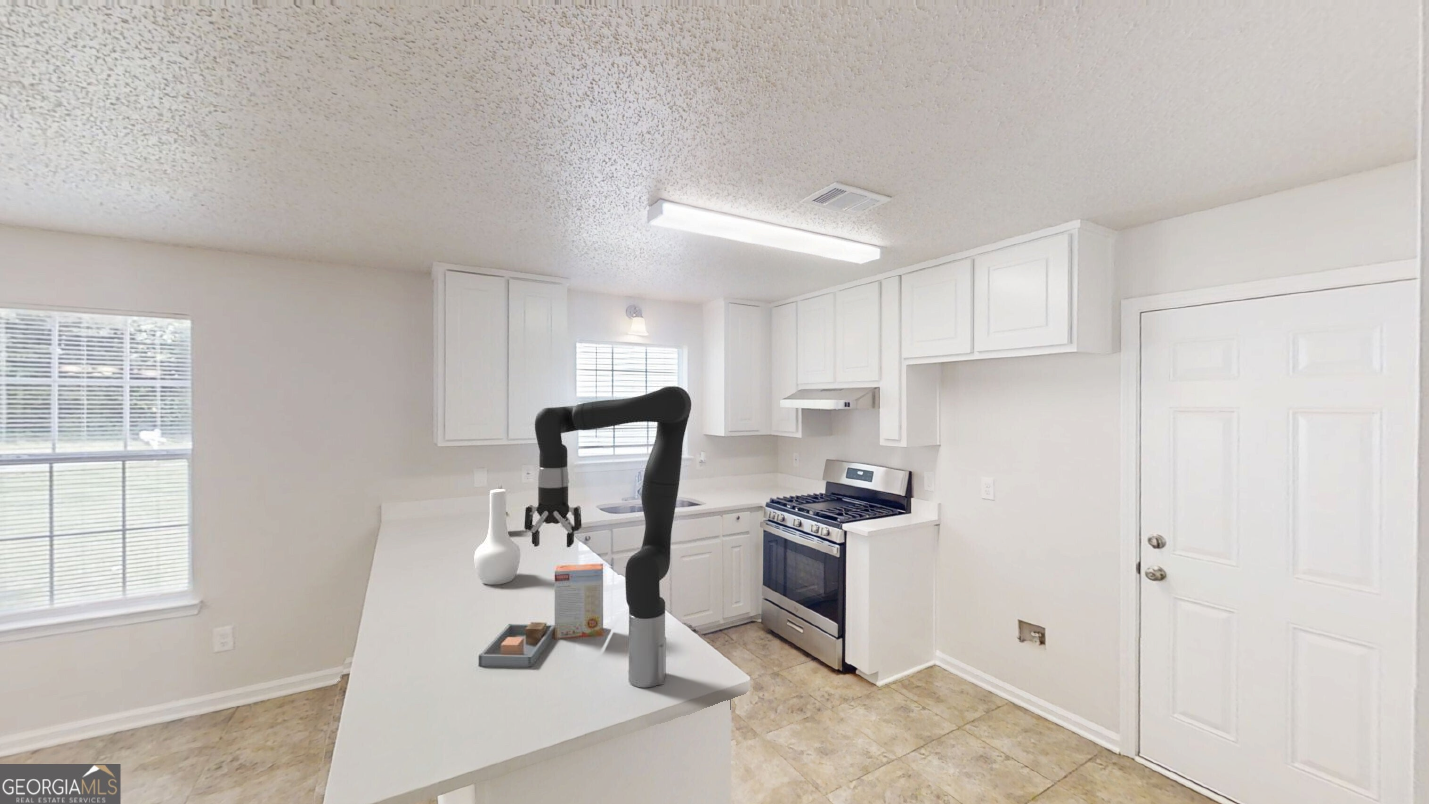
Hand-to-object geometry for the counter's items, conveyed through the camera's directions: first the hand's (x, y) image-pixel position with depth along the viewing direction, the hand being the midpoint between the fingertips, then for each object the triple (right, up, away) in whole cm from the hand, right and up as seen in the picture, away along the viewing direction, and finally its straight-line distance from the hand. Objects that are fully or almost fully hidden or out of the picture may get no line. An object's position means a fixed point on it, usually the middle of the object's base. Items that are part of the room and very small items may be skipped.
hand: (553, 546), depth 142 cm
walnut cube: (-10, -32, +17) cm, 37 cm away
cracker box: (+1, -33, +22) cm, 40 cm away
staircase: (-69, -31, +138) cm, 158 cm away
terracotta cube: (-13, -32, +7) cm, 35 cm away
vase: (-42, -32, +71) cm, 88 cm away
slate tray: (-13, -33, +12) cm, 37 cm away
